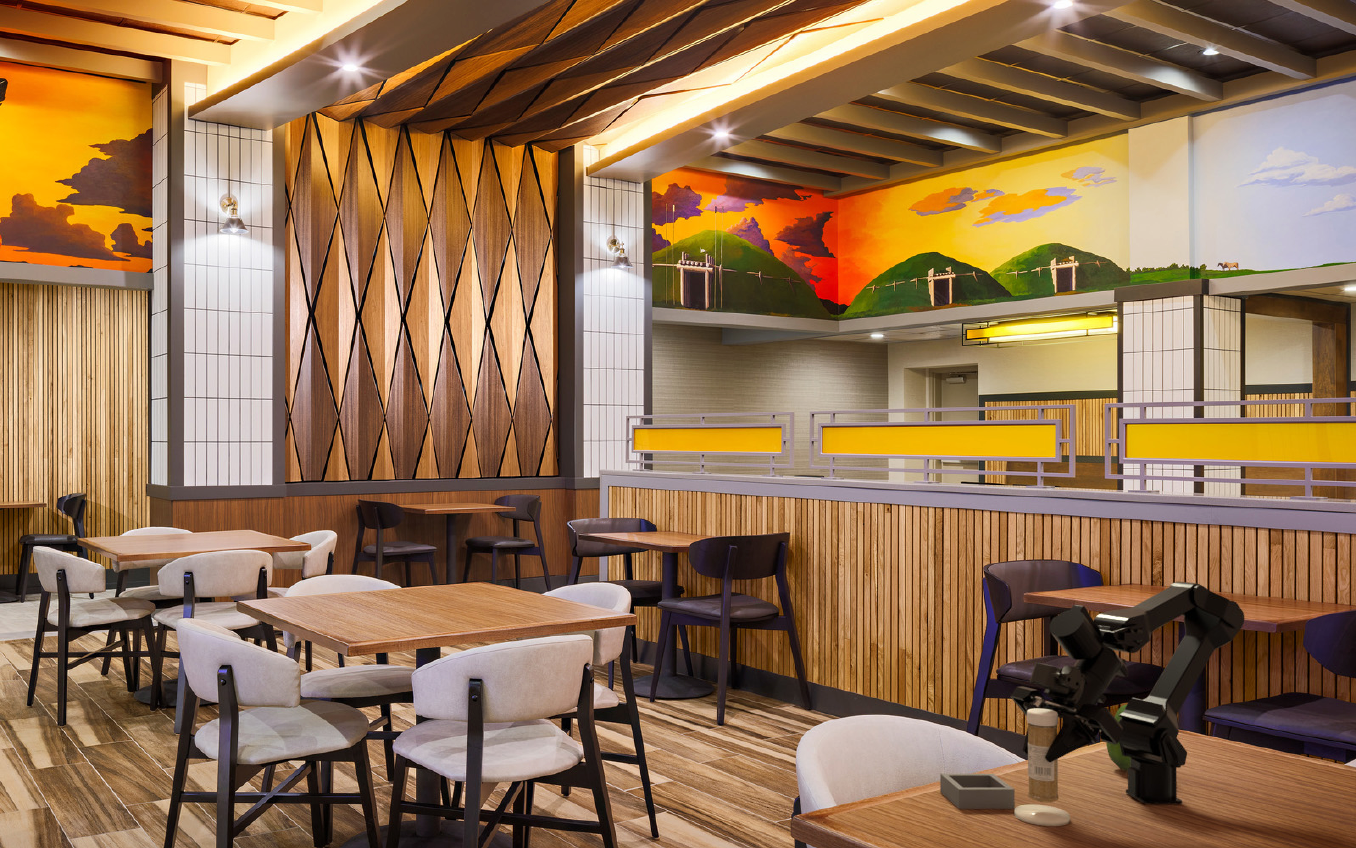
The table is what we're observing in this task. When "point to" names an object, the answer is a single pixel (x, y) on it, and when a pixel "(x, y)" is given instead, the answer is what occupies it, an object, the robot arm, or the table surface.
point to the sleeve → (977, 791)
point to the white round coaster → (1042, 815)
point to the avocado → (1118, 748)
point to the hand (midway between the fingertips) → (1035, 756)
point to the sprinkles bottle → (1042, 755)
